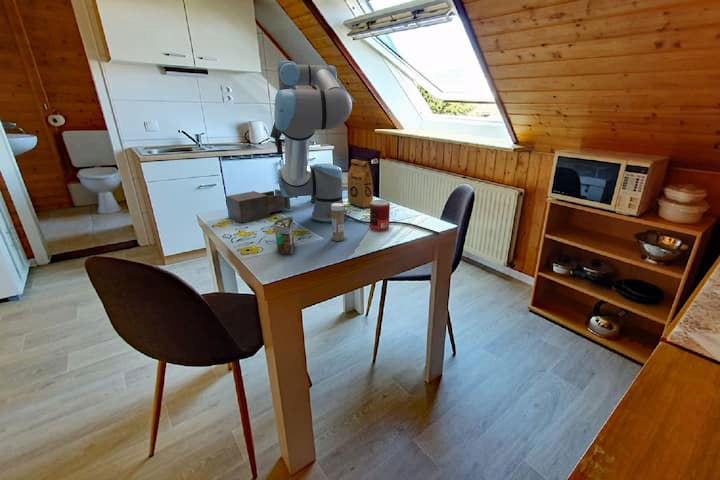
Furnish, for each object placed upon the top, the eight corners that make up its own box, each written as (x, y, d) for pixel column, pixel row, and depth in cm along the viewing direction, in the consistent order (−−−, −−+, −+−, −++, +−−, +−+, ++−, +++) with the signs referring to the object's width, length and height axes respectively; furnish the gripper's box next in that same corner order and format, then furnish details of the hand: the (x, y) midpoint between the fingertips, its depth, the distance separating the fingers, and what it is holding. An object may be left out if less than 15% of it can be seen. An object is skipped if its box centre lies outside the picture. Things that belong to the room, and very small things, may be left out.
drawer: (288, 202, 173) (287, 187, 170) (300, 206, 166) (299, 190, 163) (255, 209, 160) (253, 193, 158) (267, 214, 154) (265, 197, 151)
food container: (277, 243, 125) (274, 216, 121) (294, 242, 125) (292, 216, 122) (271, 257, 113) (269, 228, 110) (290, 256, 114) (288, 227, 110)
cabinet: (256, 211, 162) (254, 191, 158) (269, 216, 154) (267, 195, 151) (228, 217, 153) (225, 196, 149) (241, 223, 145) (238, 201, 142)
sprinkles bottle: (344, 241, 127) (344, 205, 122) (332, 241, 126) (331, 206, 122) (343, 236, 131) (343, 202, 126) (331, 237, 131) (330, 202, 126)
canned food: (390, 226, 143) (392, 200, 139) (385, 232, 136) (386, 205, 132) (373, 224, 145) (373, 198, 141) (367, 230, 138) (367, 203, 134)
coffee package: (361, 209, 166) (361, 163, 158) (345, 203, 174) (344, 159, 166) (376, 205, 172) (377, 160, 164) (359, 200, 180) (360, 157, 172)
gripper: (306, 102, 158) (308, 150, 165) (258, 101, 140) (263, 154, 148) (317, 102, 153) (319, 151, 161) (269, 101, 136) (274, 156, 143)
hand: (292, 153), depth 154 cm, fingers open, 13 cm apart
